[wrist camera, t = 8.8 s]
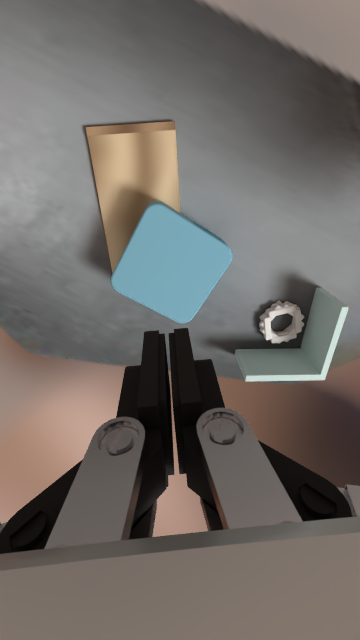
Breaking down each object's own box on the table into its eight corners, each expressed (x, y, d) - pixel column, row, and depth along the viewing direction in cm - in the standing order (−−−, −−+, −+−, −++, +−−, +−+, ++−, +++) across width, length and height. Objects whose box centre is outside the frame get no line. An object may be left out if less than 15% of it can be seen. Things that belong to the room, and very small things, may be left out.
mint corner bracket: (320, 286, 43) (348, 307, 36) (302, 351, 48) (324, 379, 42) (242, 286, 42) (257, 307, 35) (234, 352, 48) (245, 381, 41)
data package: (152, 195, 35) (111, 275, 39) (151, 197, 31) (105, 286, 35) (230, 244, 38) (184, 313, 42) (238, 252, 34) (186, 327, 38)
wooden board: (174, 121, 32) (174, 121, 31) (183, 273, 40) (184, 275, 40) (86, 128, 31) (85, 127, 31) (114, 279, 40) (113, 280, 39)
